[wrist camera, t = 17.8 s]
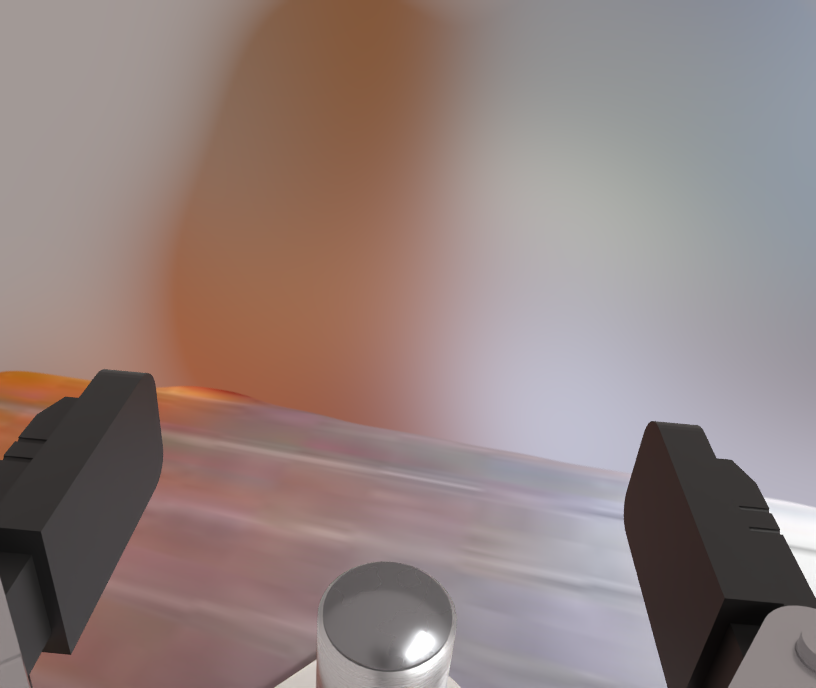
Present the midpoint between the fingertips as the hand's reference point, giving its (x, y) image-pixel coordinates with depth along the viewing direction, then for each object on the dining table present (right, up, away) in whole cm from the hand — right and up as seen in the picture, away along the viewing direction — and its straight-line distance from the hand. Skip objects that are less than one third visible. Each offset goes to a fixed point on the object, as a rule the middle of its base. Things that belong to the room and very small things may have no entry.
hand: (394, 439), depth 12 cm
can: (-2, -20, +24) cm, 31 cm away
